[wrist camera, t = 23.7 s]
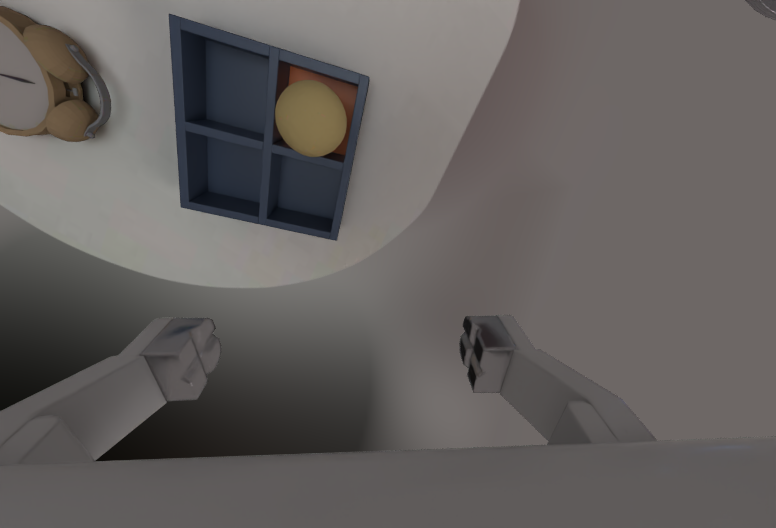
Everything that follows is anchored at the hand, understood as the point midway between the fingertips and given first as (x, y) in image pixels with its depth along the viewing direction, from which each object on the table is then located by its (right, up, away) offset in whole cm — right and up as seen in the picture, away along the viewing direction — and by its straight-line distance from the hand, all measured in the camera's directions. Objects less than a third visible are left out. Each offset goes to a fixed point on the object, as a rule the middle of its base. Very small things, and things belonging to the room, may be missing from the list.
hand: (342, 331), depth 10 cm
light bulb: (-6, +19, +24) cm, 31 cm away
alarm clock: (-35, +22, +22) cm, 46 cm away
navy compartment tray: (-11, +17, +26) cm, 33 cm away
